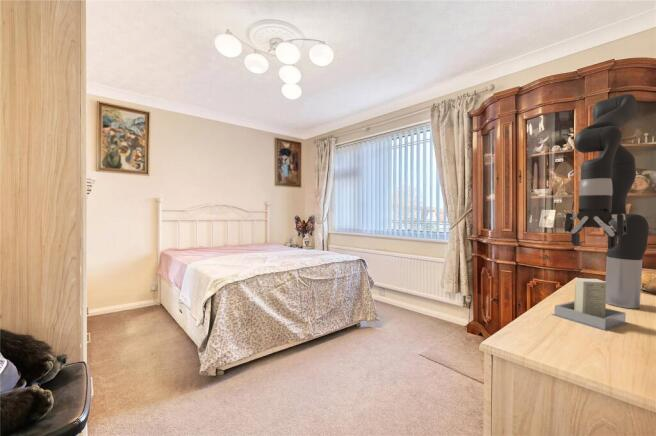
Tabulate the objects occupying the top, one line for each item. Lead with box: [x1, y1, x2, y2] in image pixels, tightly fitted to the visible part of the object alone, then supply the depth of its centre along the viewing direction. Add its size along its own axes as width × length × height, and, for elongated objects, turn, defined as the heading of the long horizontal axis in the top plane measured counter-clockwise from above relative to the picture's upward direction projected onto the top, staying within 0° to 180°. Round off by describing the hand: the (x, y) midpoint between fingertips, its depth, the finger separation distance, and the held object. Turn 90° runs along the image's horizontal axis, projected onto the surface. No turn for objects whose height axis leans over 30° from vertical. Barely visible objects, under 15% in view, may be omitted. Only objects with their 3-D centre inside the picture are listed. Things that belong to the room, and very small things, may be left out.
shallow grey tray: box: [553, 300, 627, 331], centre depth 92 cm, size 13×13×3 cm
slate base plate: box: [550, 313, 630, 332], centre depth 92 cm, size 14×14×1 cm
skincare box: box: [574, 277, 607, 318], centre depth 91 cm, size 6×4×12 cm
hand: (593, 247), depth 91 cm, fingers open, 8 cm apart
